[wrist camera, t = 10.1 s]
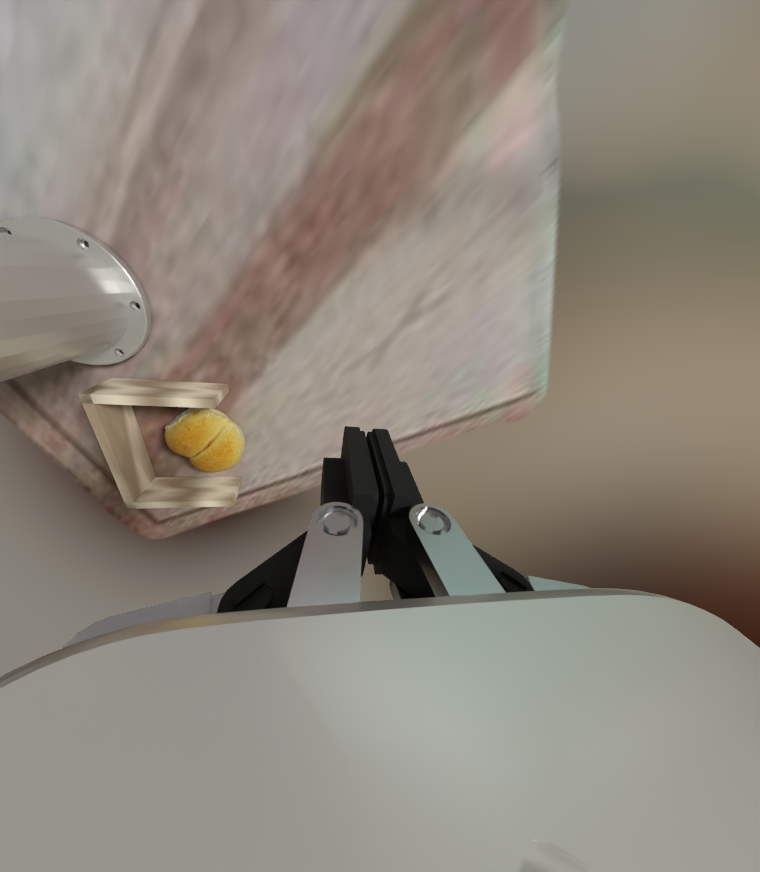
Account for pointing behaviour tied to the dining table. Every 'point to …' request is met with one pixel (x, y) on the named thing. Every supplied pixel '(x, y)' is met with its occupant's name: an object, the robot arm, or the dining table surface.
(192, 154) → the dining table surface
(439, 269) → the dining table surface
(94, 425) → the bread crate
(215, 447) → the bread roll
